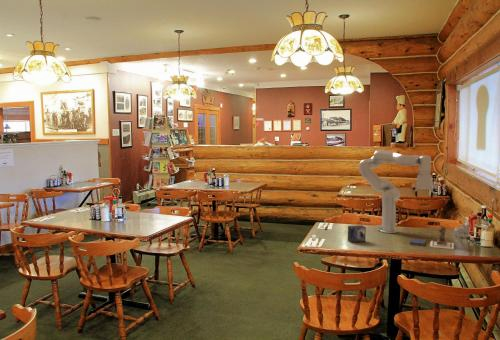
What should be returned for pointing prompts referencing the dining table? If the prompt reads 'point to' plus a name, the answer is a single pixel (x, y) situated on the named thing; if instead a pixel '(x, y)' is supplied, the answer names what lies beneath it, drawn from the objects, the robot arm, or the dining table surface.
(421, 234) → the dining table surface
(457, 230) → the pig figurine
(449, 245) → the marked board
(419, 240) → the ink pad
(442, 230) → the stamp
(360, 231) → the small box
